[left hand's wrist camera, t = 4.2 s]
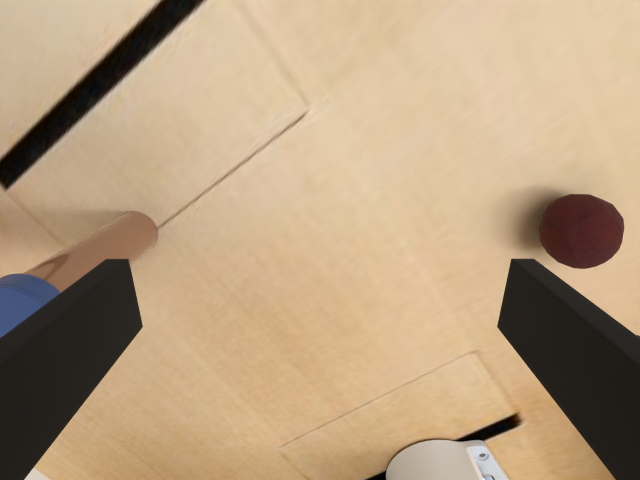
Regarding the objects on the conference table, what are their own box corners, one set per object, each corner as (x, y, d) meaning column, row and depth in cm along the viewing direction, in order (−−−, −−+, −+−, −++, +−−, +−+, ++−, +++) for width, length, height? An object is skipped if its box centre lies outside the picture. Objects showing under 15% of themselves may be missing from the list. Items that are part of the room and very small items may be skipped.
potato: (540, 262, 43) (580, 291, 36) (514, 209, 41) (552, 230, 34) (602, 229, 41) (655, 254, 35) (579, 172, 39) (631, 188, 32)
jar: (135, 203, 40) (5, 276, 24) (166, 234, 42) (64, 325, 25) (107, 227, 42) (-37, 315, 25) (138, 258, 43) (22, 360, 26)
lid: (22, 258, 25) (-2, 271, 23) (88, 314, 27) (70, 330, 25) (-26, 302, 26) (-53, 317, 24) (39, 353, 28) (19, 371, 26)
